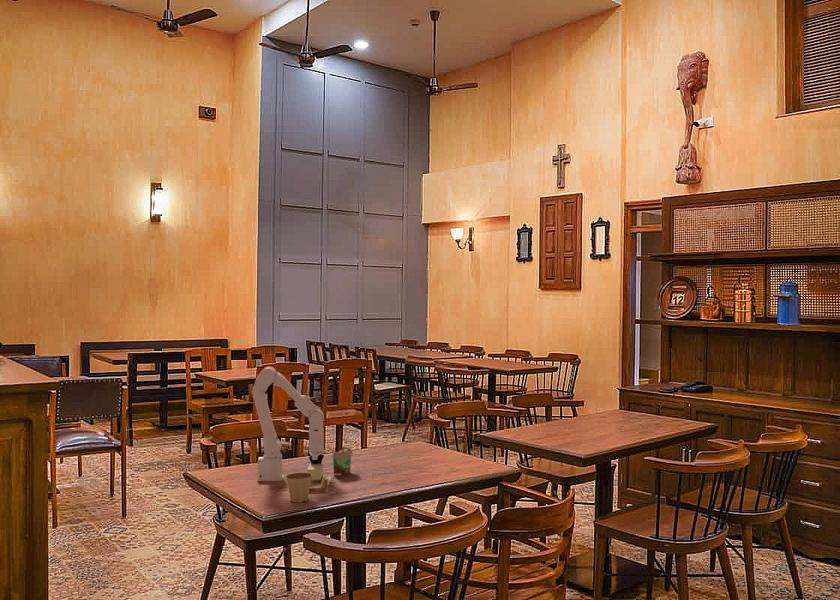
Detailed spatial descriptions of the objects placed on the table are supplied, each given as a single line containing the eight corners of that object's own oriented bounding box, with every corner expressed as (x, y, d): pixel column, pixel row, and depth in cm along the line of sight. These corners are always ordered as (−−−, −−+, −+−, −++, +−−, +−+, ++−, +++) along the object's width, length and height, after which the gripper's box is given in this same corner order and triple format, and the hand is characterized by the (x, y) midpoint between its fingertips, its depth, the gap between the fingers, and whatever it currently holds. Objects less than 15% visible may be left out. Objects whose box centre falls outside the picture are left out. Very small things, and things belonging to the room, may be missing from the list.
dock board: (293, 494, 255) (293, 488, 255) (301, 477, 278) (301, 473, 278) (326, 493, 255) (326, 488, 255) (331, 477, 278) (331, 472, 278)
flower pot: (289, 505, 241) (288, 480, 241) (283, 498, 249) (282, 474, 249) (315, 502, 245) (315, 477, 245) (308, 495, 253) (308, 471, 253)
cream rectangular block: (307, 483, 267) (307, 469, 267) (309, 477, 277) (309, 463, 277) (320, 483, 268) (320, 469, 268) (323, 477, 278) (322, 463, 278)
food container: (347, 479, 276) (347, 453, 276) (332, 478, 277) (332, 453, 277) (356, 471, 288) (356, 447, 288) (342, 470, 289) (342, 446, 289)
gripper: (325, 443, 271) (325, 478, 271) (328, 436, 286) (328, 469, 286) (306, 443, 271) (306, 478, 271) (310, 436, 286) (310, 469, 286)
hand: (316, 473), depth 278 cm, fingers closed
